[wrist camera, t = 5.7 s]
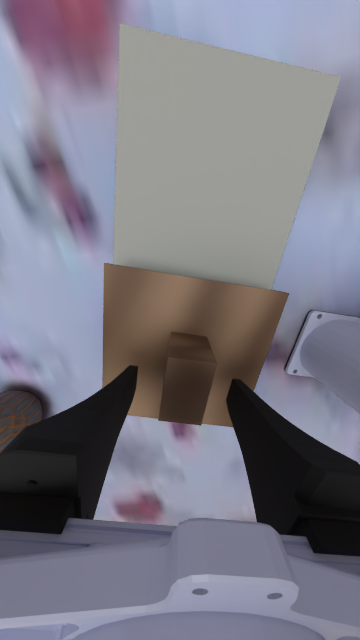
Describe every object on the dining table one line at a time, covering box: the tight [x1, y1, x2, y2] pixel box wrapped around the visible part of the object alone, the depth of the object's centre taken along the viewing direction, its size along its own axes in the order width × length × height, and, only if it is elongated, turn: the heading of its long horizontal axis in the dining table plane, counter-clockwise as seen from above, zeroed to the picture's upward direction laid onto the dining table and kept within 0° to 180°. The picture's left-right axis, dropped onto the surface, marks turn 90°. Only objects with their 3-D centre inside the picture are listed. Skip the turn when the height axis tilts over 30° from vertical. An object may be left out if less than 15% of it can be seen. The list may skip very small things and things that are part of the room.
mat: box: [113, 23, 341, 290], centre depth 14 cm, size 16×16×1 cm
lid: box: [102, 263, 289, 427], centre depth 13 cm, size 14×14×5 cm
